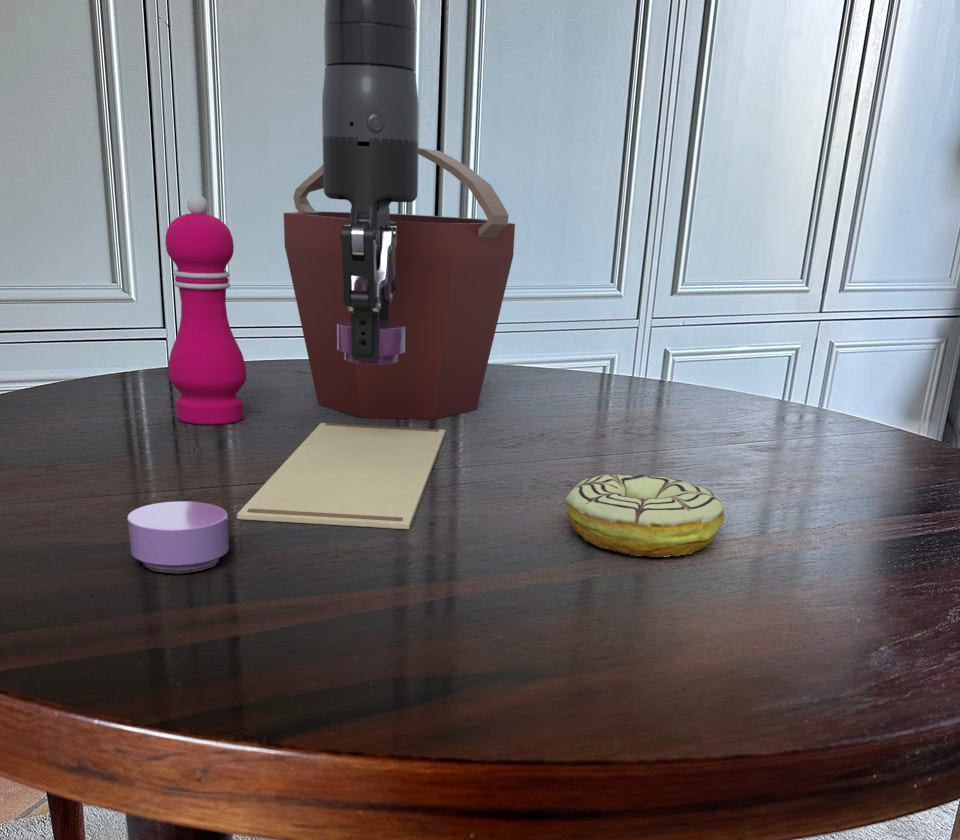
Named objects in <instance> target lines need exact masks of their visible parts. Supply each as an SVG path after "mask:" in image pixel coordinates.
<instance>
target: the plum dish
mask: <svg viewBox="0 0 960 840" xmlns="http://www.w3.org/2000/svg"><path fill="white" fill-rule="evenodd" d="M337 350H338V351H340V352H342V353H344V356H345V361H347V362H351V363H356V364H365V365H386V364H393V363H397V362H398V360H399V355H400V354H403V353H405V351H406V325H405V324H402V323H399V322H393V321H384V320H379V357H378V358H377V359H376V360H375V361H357V360H354V359H353V358H352V355H351V320H346V321H341V322H338V323H337Z"/></svg>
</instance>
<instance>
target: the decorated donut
mask: <svg viewBox="0 0 960 840" xmlns="http://www.w3.org/2000/svg"><path fill="white" fill-rule="evenodd" d="M564 503H565V505H566V509H567V517H568V520H569V522H570V524H571V526H572V527H573V529H574V532H575V534H577V535H579V536H581V537H582V539H584V541H585V542H587V543H591V544H592V545H594V546H595V547H598V548H600V549H603V550H610V551H613V552H616V551H617V552H616V553H618V552H620V553H619V554H625V555H627V554H632V555H641V556H651V557H650V558H652V557H656V558H658V557H664V556H668V555H670V556H674V557H681V556H680V555H685V556H687V555H686V554H689V553H692V554H694V553H696V552H695V551H697V552H698V550H699V551H700V550H702V549H704V548H705V547H706V546H708V545H709V544H710V543H712V541H713V540H714V539H715V537H716V535H717V534H718V532H719V531H720V528H721V527H722V525H723V524H724V520H725V504H724V503H723V501H722V499H721V498H720V497H719V496H717V494H716V493H715V492H713V491H711V489H707V488H706V487H702V486H699V485H696V484H693V483H690V482H687V481H683V480H679V479H677V478H672V477H669V476H657V475H650V474H649V475H648V474H627V475H625V474H602V475H598V476H594V477H589V478H585V479H583V480H581V481H580V482H579V483H577V484H576V485H575V486H574V487H573V488H572V489H571V491H570V492H569V494H568V495H567V496H566V498H565V501H564ZM693 552H694V553H693ZM632 555H631V556H632Z"/></svg>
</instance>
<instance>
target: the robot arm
mask: <svg viewBox="0 0 960 840" xmlns="http://www.w3.org/2000/svg"><path fill="white" fill-rule="evenodd" d="M417 16H418V15H417V7H416V0H324V11H323V26H324V27H323V50H324V51H323V52H324V53H323V54H324V55H323V56H324V66H325V67H324V78H323V85H322V97H321V101H322V102H321V114H322V115H321V122H322V127H321V128H322V165H323V181H324V188H323V193H324V195H325V197H326V198H328V199H330V200H331V199H332V200H341V201H348V202H349V203H350V206H351V208H350V212H351V215H350V224H349V225H344V226H343V227H342V231H341V234H340V235H341V238H342V258H343V284H344V295H343V302H344V304H345V306H347V307H348V310H349V312H352V313H351V355H352V358H353V359H354V360H357V361H375V360H376V359H377V358H378V357H379V320H384V321H390V305H386V304H391V302H392V300H393V294H394V290H395V289H396V284H395V274H396V253H395V250H396V245H397V241H398V233H397V226H396V222H390V214H391V211H390V205H391V203H413V202H415V200H416V199H417V197H418V188H419V186H418V184H419V154H418V148H419V124H420V123H419V121H420V120H419V119H420V118H419V117H420V115H419V114H420V113H419V111H420V110H419V109H420V108H419V107H420V105H419V94H418V85H417V84H418V83H417V72H416V71H417V36H418V35H417V34H418V33H417V32H418V31H417V30H418V25H417V23H418V21H417V20H418V19H417ZM359 285H362V291H357V287H358V286H359ZM353 312H354V313H353Z"/></svg>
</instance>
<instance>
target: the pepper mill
mask: <svg viewBox="0 0 960 840" xmlns="http://www.w3.org/2000/svg"><path fill="white" fill-rule="evenodd" d="M208 205H209V204H208V201H207V200H206V198H205V197H204V196H203V195H201V194H197V193H196V194H192V195H190V196H189V197H188V199H187V201H186V206H187V210H188V211H189V212H190V213H185V214H182V215H179V216H177V217H176V218H174V219H173V220H172V221H171V222H170V223H169V225H168V227H167V230H166V233H165V250H166V252H167V255H168V256H169V258H170V259H171V260H172V262H173V263H174V264H175V266H176V268H177V269H175V270H174V271H173V272H172V273H173V276H174V282H173V285H174V286H175V287H176V288H178V291H179V297H180V322H179V327H178V329H177V330H178V331H177V334H176V337H175V339H174V342H173V345H172V348H171V351H170V354H169V359H168V379H169V381H170V382H171V384H172V386H174V387H175V389H177V391H178V392H179V393H180V397H178V398H177V399H176V400H175V408H176V417H177V419H178V420H179V421H180V422H183V423H186V424H191V425H198V426H199V425H200V426H203V425H204V426H218V425H219V426H220V425H228V424H229V425H230V424H234V423H238V422H240V421H242V420H243V418H244V402H243V399H242V398H240V397H238V396H237V394H238V393H239V391H240V390H241V389H242V388H243V386H244V385H245V384H246V381H247V378H248V377H247V375H248V374H247V367H246V363H245V359H244V356H243V352H242V351H241V348H240V346H239V345H238V342H237V340H236V338H235V337H234V336H235V335H234V334H233V332H232V329H231V326H230V323H229V319H228V313H227V305H226V303H227V302H226V299H227V297H226V296H227V289H228V288H229V289H230V287H231V283H230V282H229V281H230V280H229V277H230V276H231V274H230V272H229V271H227V270H226V268H227V266H228V264H229V263H230V261H231V260H232V258H233V256H234V251H235V249H234V248H235V244H234V238H233V235H232V232H231V230H230V229H229V227H228V226H227V225H226V223H225V222H224V221H222V220H221V219H220V218H218V217H216V216H214V215H211V214H208V213H207V211H208V207H209V206H208Z"/></svg>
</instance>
